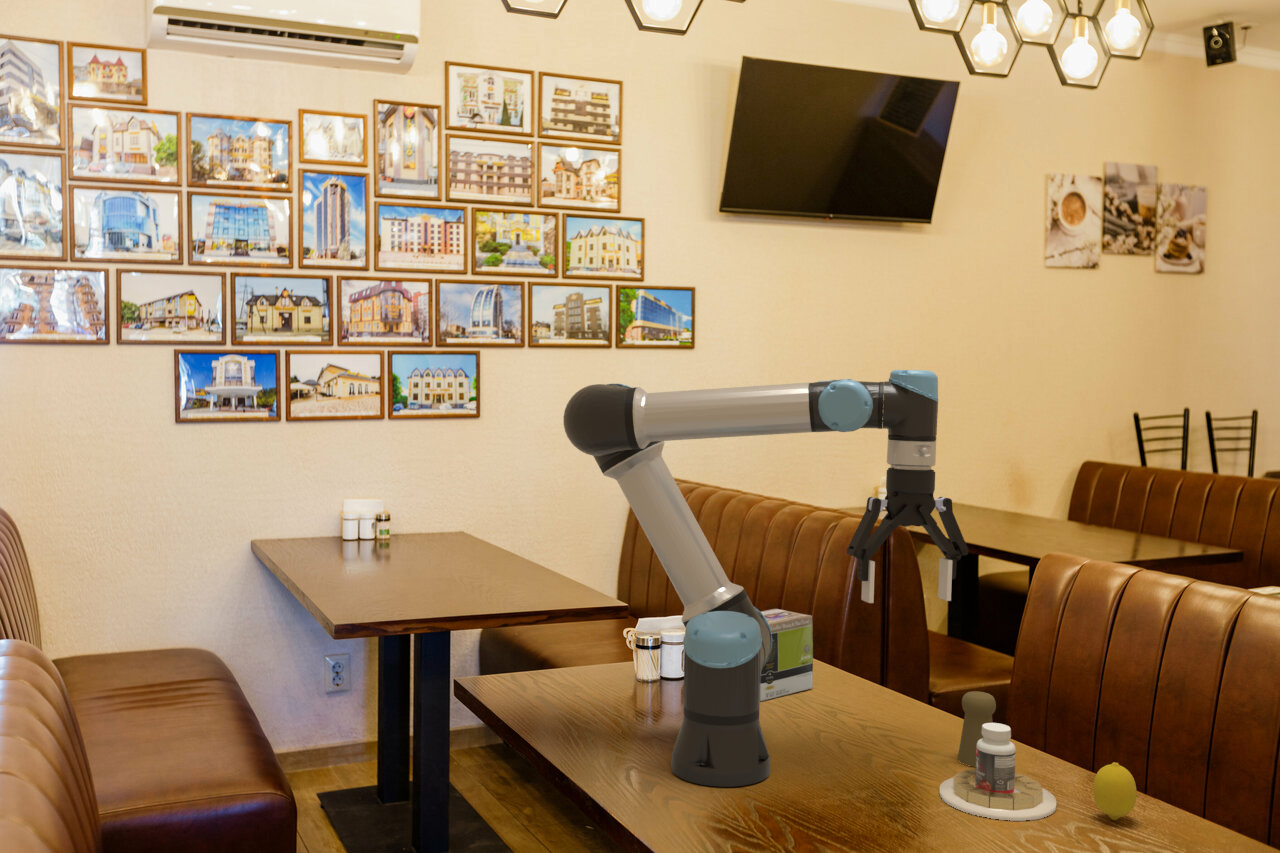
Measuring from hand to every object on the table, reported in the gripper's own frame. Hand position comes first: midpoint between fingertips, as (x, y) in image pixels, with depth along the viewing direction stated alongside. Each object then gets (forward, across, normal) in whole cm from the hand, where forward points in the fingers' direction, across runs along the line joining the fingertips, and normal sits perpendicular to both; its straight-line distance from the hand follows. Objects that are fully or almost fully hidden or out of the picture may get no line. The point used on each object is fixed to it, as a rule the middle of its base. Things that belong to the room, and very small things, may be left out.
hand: (906, 600), depth 177 cm
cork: (+25, +11, -4) cm, 28 cm away
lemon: (+25, +16, -30) cm, 43 cm away
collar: (+25, +5, -20) cm, 32 cm away
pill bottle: (+24, +4, -20) cm, 32 cm away
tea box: (+26, -6, +42) cm, 50 cm away
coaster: (+25, +5, -20) cm, 32 cm away
